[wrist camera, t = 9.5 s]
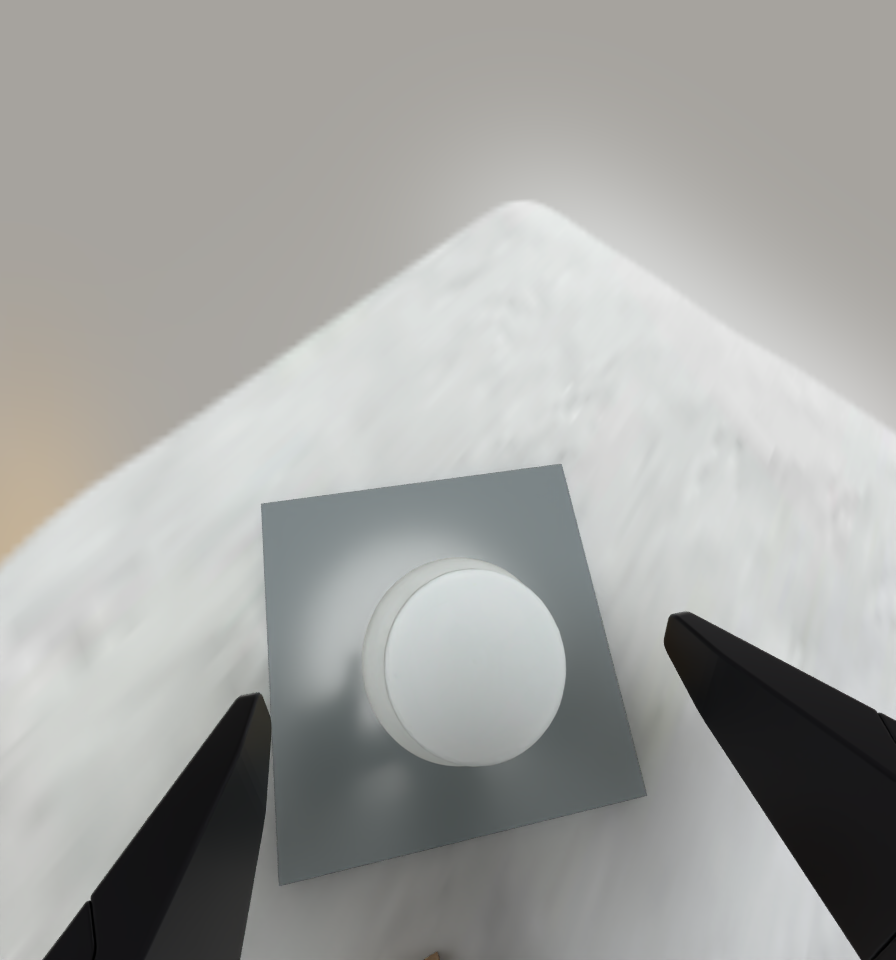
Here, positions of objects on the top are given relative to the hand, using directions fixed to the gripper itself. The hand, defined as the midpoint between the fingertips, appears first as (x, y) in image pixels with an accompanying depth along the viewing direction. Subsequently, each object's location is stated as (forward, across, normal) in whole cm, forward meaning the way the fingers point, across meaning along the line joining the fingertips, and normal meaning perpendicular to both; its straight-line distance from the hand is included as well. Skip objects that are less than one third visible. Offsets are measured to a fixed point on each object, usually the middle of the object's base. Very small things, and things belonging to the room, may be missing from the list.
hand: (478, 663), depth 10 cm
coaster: (+7, 0, +7) cm, 10 cm away
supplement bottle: (+7, 0, +7) cm, 10 cm away
